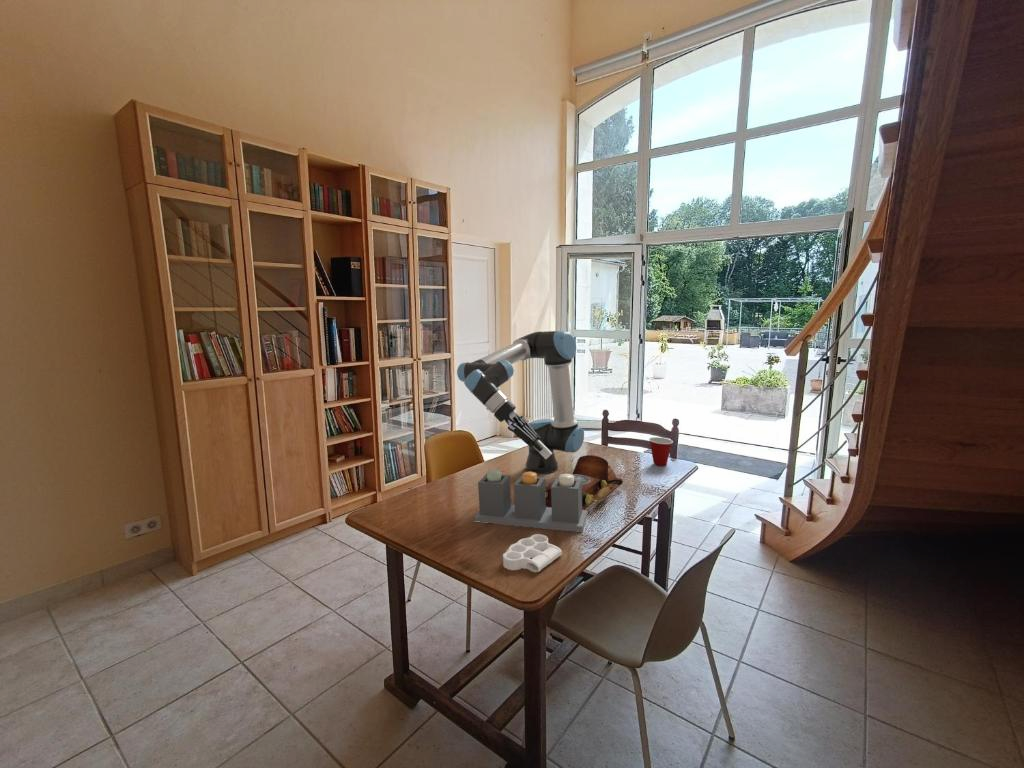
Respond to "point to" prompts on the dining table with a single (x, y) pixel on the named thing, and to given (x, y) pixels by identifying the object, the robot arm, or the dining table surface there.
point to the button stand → (531, 504)
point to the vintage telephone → (591, 480)
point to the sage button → (494, 476)
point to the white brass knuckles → (531, 553)
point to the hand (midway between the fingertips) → (549, 456)
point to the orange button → (529, 478)
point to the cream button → (566, 480)
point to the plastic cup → (660, 450)
